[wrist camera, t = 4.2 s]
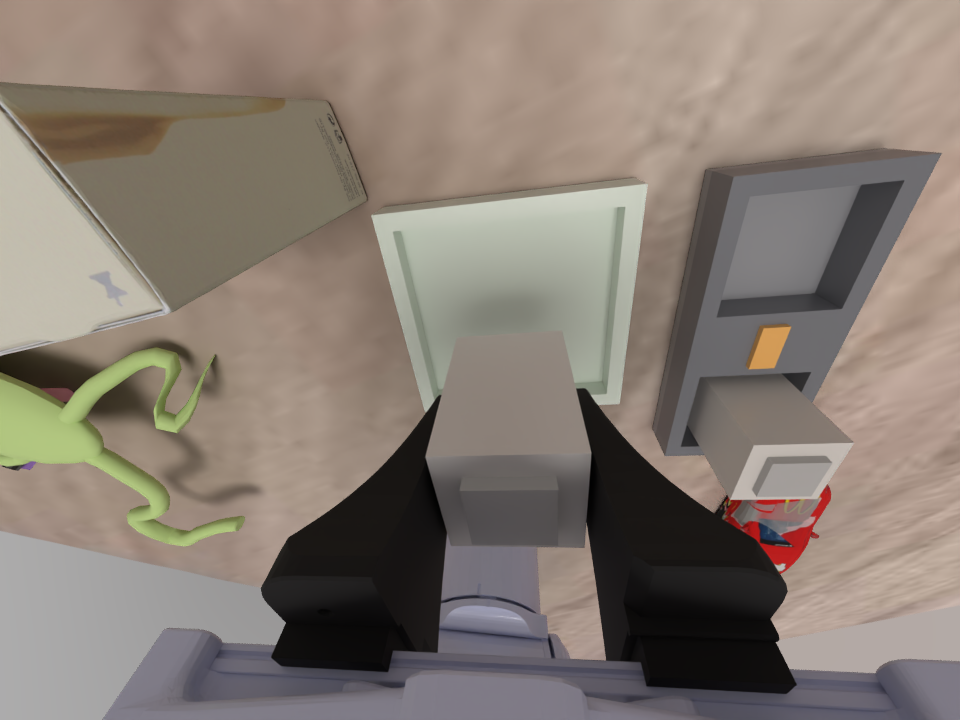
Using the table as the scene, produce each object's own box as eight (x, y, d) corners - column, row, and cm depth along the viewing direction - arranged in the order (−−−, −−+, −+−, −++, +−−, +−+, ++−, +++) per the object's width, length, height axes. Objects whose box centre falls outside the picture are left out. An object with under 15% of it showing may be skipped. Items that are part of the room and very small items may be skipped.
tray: (612, 385, 23) (619, 403, 21) (430, 393, 24) (424, 411, 23) (635, 177, 16) (647, 183, 15) (383, 207, 18) (371, 215, 16)
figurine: (267, 509, 35) (229, 569, 30) (-43, 431, 31) (-139, 486, 27) (266, 364, 25) (209, 421, 20) (-194, 226, 21) (-391, 256, 16)
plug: (561, 411, 15) (586, 561, 10) (470, 414, 16) (449, 559, 11) (561, 330, 13) (594, 466, 8) (456, 337, 14) (421, 469, 8)
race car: (751, 449, 26) (787, 498, 22) (828, 457, 25) (876, 507, 22) (682, 547, 33) (701, 595, 30) (741, 554, 33) (767, 602, 30)
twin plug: (750, 415, 23) (822, 506, 17) (683, 418, 23) (734, 506, 18) (771, 364, 20) (861, 450, 15) (696, 367, 21) (759, 452, 16)
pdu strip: (763, 425, 24) (789, 457, 22) (652, 428, 25) (666, 459, 22) (884, 148, 15) (949, 154, 13) (706, 169, 16) (737, 177, 14)
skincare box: (329, 96, 15) (-18, 56, 5) (371, 201, 18) (185, 314, 8) (208, 140, 17) (-256, 176, 7) (262, 233, 19) (-21, 365, 9)
